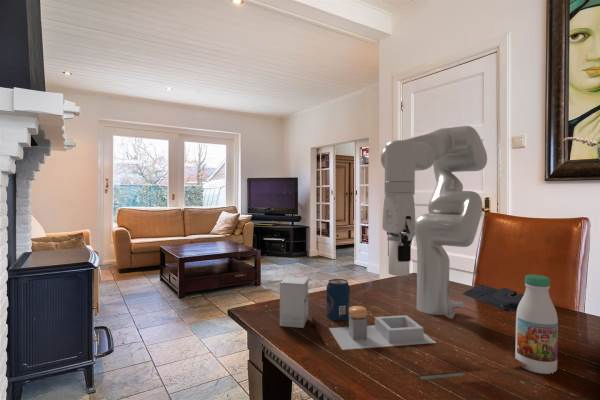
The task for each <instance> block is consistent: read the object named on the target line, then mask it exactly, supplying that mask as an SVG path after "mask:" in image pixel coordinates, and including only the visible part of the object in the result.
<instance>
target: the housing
mask: <svg viewBox="0 0 600 400" xmlns="http://www.w3.org/2000/svg"><path fill="white" fill-rule="evenodd" d="M328 330H329V331H330V333H331V335H332V336H333V338H334V339H335V341H336V343H337V344H338V346H339V347H340V349H341V350H342V351H347V350H357V349H358V350H359V349H370V348H386V347H387V348H388V347H398V346H412V345H425V344H426V345H427V344H436V343H437V342H436V341H435V340H434V339H433V338H431V337H430V336H429V335H428V334H426V333H425V331H424V327H423V326H421V325H420V324H419V323H418V322H417V321H414V319H412V318H411V317H409V315H407V314H406V315H405V314H403V315H391V316H390V315H389V316H387V315H386V316H375V317H374V325H372V324H371V325H368V319H367V318H366V317H364V318H361V319H355V318H354V317H351V316H350V315H349V319H348V326H343V327H329V328H328Z"/></svg>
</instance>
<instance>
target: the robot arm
mask: <svg viewBox="0 0 600 400" xmlns="http://www.w3.org/2000/svg"><path fill="white" fill-rule="evenodd" d="M380 163H381V166H382V167H383V168H384V199H383V209H382V230H383V231H385V232H386V235H387V236H388V235H389V234H398V237H399V245H400V246H398V261H399V262H407V261H409V262H410V261H411V259H412V257H411V256H412V254H411V253H412V251H411V249H412V248H411V247H412V244H413V242H412V241H413V240H414V237H415V243H416V304H415V305H414V307H416V310H417V311H419V312H421V313H423V314H426V315H427V314H428V315H433V316H434V315H436V316H439V315H440V316H443V315H444V316H445V317H447V318H448V319H450V320H452V319H454V318H455V312H454V311H453V310H455V309H463V308H464V305H465V304H464V302H462V301H455V300H453V299H452V300H450V264H451V262H450V258H449V255H448V253H447V252H446V250H445V248H444V247H443V246H448V247H457V248H466V247H469V246H471V245H472V244H473V242H474V241H475V238H476V235H477V231H478V228H479V225H480V221H481V217H482V213H483V199H482V197H481V196H480V194H479V193H478V192H476V191H474V190H473V191H472V190H463V189H464V186H463V184H462V181H461V180H460V179H459V178H458V177H457V176H456V175H455V174H454V173H455V172H456V173H459V172H463V173H464V172H479V171H481V170H484V168H485V167H486V166H487V163H488V154H487V151H486V148H485V145H484V143H483V141H482V139H481V136H480V135H479V132H478V131H477V130H476V129H475V128H474V127H473V126H470V125H462V126H453V127H445V128H439V129H435V130H434V131H431V132H429V133H426V134H422V135H418V136H414V137H411V138H407V139H403V140H402V139H400V140H396V139H395V140H391V141H388V142H386V144H385V146H384V148H383V149H382V152H381V154H380ZM432 166H433V172H434V177H435V181H436V185H435V188H434V191H433V192H432V195H431V198H430V200H429V203H428V206H427V208H428V209H427V210H428V213H423V214H421V215H419V216H418V217H417V218H416V210H415V209H416V206H415V196H414V195H416V194H415V193H416V192H415V189H416V182H415V181H416V177H415V176H416V171H424V170H428V169H430V168H431V167H432ZM402 236H405V237H404V238H403V237H402ZM387 256H388V258H389V240H388V238H387Z"/></svg>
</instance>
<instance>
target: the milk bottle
mask: <svg viewBox="0 0 600 400" xmlns="http://www.w3.org/2000/svg"><path fill="white" fill-rule="evenodd" d="M550 285H551V279H550V278H549V277H547V276H545V275H538V274H527V275H525V276H524V286H525V291H524V293H523V294H524V296H523V297H522V299H521V301H520V303H519V305H518V308H517V311H516V315H515V342H514V343H515V349H514V350H515V353H514V355H515V356H514V357H515V360H518V362H520V363H522V364H523V365H520V367H521V368H523V369H524V370H527V371H529V372H531V373H535V374H540V375H552V374H555V373H556V372H557V370H558V348H559V347H558V345H559V344H558V343H559V342H558V341H559V339H558V338H559V325H558V323H559V321H558V320H559V319H558V318H559V317H558V313H557V310H556V308H555V305H554V304H553V301H552V299H551V297H550V293H549V289H551V286H550ZM554 372H555V373H554ZM551 373H552V374H551Z"/></svg>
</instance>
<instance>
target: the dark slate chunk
mask: <svg viewBox="0 0 600 400" xmlns="http://www.w3.org/2000/svg"><path fill="white" fill-rule="evenodd" d="M462 295H463V296H466V297H468V298H471V299H473V300H476V301H478V302H480V303H484V304H486V305H489V306H491V307H493V308H496V309H499V310H502V311H505V312H506V310H507V312H511V311H512V313H513V312H517V308H518V305H519V303H520V301H521V299H522V297H523V296H524V293H518V291H515V290H512V289H510V288H507V287H503V288H500V289H497V288H496V287H495V288H494V287H492V286H489V285H484V284H479V285H477V286H475V287H472V288H471V289H468V290H465V291H464V292H463V293H462Z"/></svg>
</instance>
